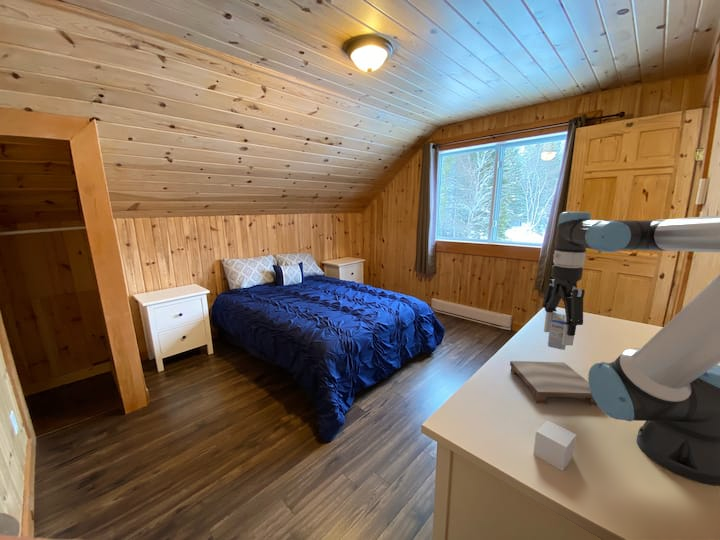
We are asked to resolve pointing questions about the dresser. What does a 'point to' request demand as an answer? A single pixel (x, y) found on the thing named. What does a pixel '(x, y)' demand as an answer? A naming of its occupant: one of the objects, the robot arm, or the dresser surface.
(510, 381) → the dresser surface
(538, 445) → the white cube
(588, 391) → the walnut stand
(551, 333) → the medicine box
